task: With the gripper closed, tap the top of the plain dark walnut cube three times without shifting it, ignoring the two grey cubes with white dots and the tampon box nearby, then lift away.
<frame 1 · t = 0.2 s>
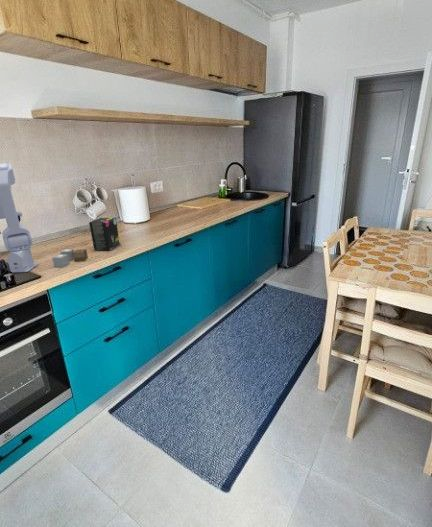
hand: (8, 231, 156), 11 cm above the counter, tool pointing down, fingers open, 7 cm apart
walnut cube: (81, 260, 144), on the counter
grey dot cube a: (68, 259, 145), on the counter
tampon box: (107, 247, 161), on the counter
grey dot cube b: (62, 265, 138), on the counter
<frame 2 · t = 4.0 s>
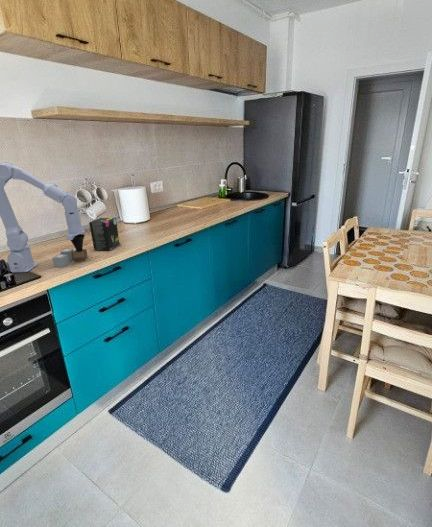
hand: (79, 250, 142), 4 cm above the counter, tool pointing down, fingers closed, pressing on walnut cube
walnut cube: (81, 260, 144), on the counter, touching gripper
everything else where it was.
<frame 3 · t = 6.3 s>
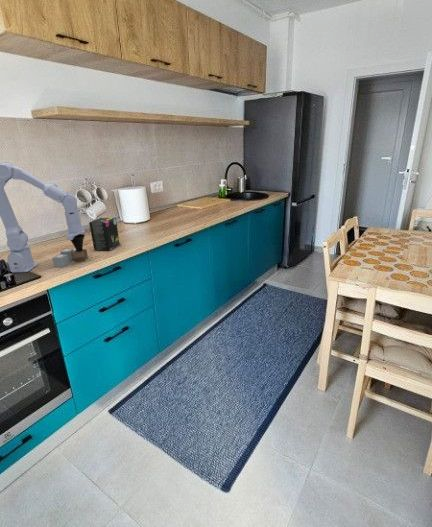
hand: (79, 250, 142), 4 cm above the counter, tool pointing down, fingers closed, pressing on walnut cube
walnut cube: (81, 260, 144), on the counter, touching gripper
everything else where it was.
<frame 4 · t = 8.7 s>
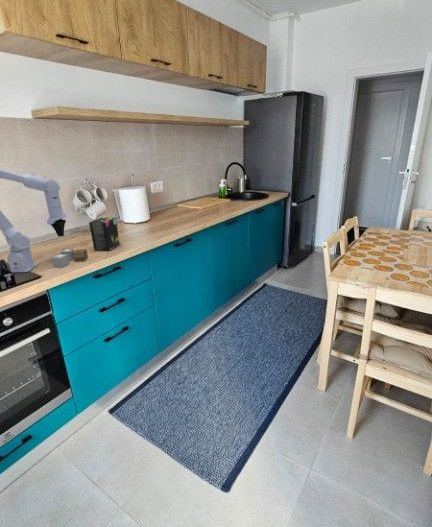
hand: (60, 236, 145), 10 cm above the counter, tool pointing down, fingers closed
walnut cube: (81, 260, 144), on the counter
everything else where it was.
at the end: walnut cube moved 0.1 cm from its start; walnut cube tilted 0°; walnut cube on the counter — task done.
